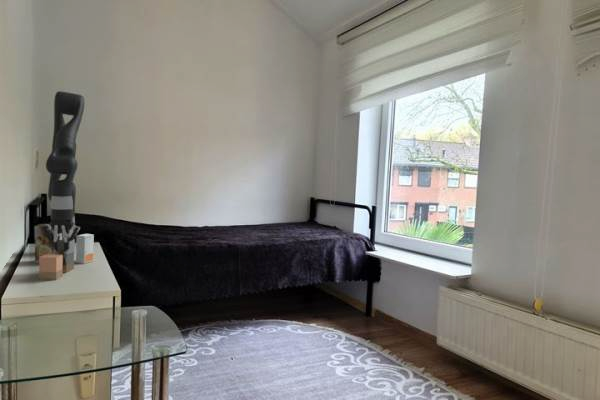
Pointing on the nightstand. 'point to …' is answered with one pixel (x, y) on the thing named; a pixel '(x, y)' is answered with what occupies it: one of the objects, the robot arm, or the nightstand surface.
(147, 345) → the nightstand surface
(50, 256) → the peach rectangular block
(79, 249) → the skincare box
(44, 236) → the coffee box
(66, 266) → the sleeve
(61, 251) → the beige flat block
